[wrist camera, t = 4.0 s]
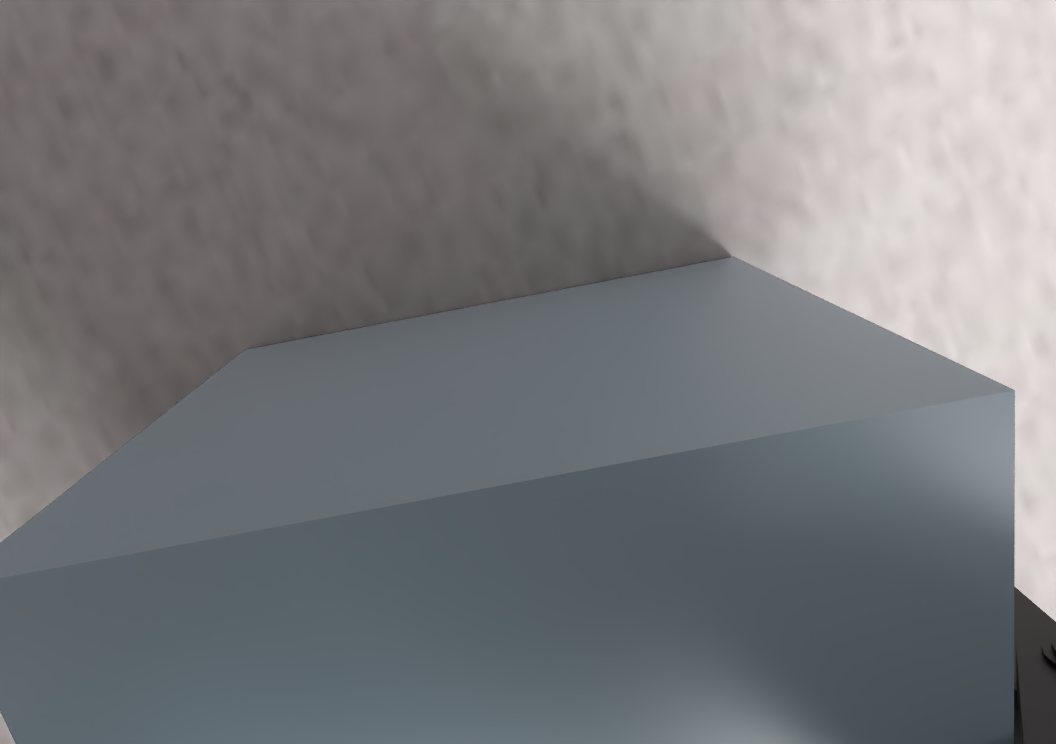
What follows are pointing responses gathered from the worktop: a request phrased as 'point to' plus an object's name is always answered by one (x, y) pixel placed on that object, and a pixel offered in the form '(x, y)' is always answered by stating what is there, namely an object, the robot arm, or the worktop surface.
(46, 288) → the worktop surface
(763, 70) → the worktop surface
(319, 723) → the slate gray cube
